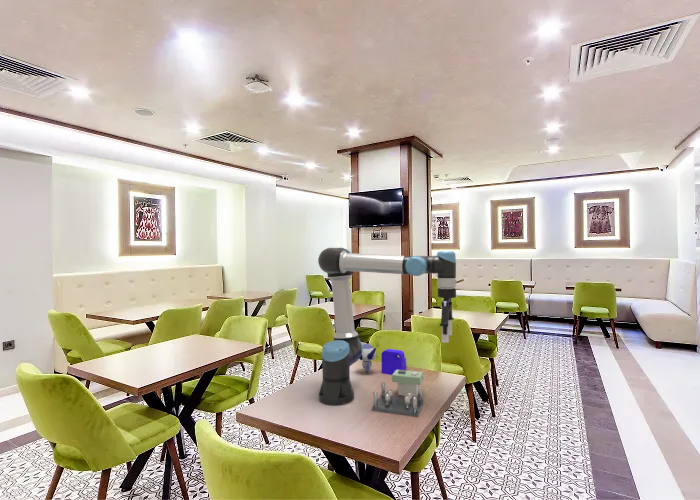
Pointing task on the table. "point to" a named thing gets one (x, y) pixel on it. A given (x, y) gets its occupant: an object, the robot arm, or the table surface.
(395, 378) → the board
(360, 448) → the table surface
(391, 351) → the bracket
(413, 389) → the block
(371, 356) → the toy
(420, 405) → the chassis
